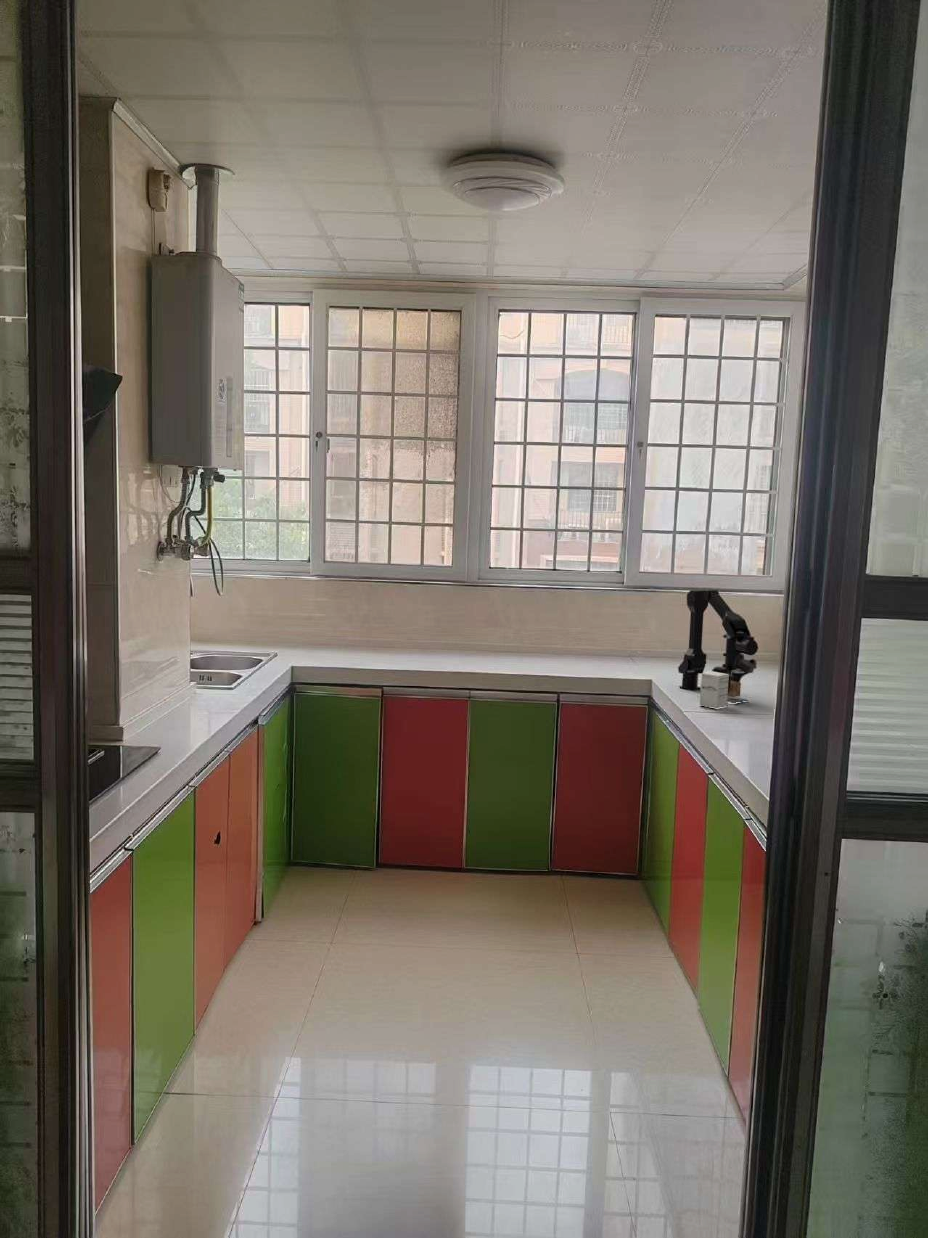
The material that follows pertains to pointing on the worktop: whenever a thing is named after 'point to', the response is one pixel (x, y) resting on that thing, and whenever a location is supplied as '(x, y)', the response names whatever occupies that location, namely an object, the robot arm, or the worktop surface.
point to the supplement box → (714, 689)
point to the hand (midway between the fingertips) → (730, 692)
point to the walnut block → (734, 689)
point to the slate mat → (735, 699)
